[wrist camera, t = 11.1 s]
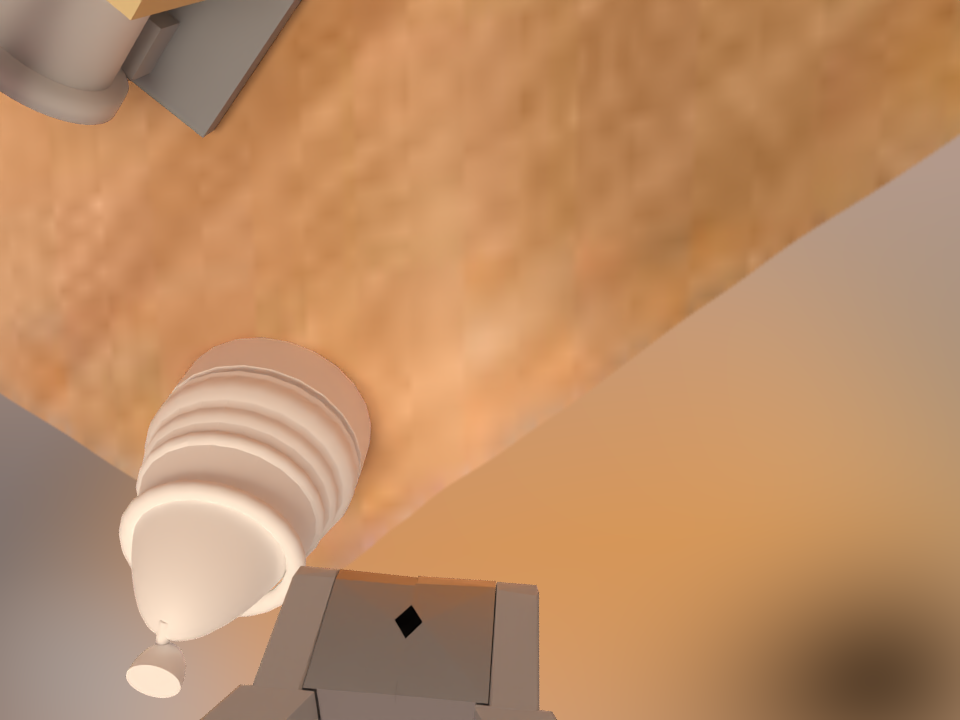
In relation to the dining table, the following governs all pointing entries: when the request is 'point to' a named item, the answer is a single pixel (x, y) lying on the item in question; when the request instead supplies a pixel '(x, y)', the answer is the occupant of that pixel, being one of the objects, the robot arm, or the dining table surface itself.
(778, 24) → the dining table surface
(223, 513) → the honey pot
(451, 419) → the dining table surface
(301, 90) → the dining table surface
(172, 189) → the dining table surface
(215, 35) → the valve
